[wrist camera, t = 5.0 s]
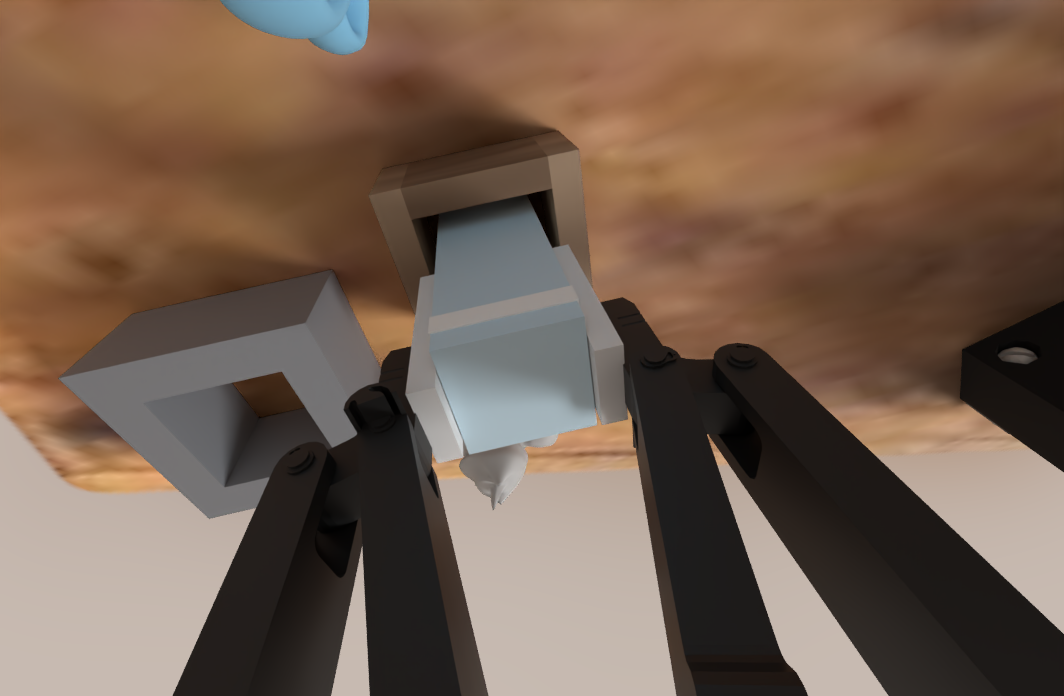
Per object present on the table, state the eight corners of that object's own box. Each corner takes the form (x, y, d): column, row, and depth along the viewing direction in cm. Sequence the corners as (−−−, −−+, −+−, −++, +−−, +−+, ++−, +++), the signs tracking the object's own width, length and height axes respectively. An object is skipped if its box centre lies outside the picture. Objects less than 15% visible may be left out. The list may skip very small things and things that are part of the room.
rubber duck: (441, 372, 26) (438, 480, 20) (550, 363, 27) (580, 465, 21) (450, 435, 30) (449, 547, 23) (547, 425, 30) (572, 531, 24)
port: (131, 314, 22) (52, 383, 17) (332, 269, 22) (303, 326, 17) (244, 447, 27) (206, 523, 23) (401, 411, 28) (392, 480, 23)
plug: (438, 202, 21) (426, 350, 11) (523, 184, 21) (586, 314, 11) (461, 279, 23) (468, 456, 13) (537, 262, 23) (598, 425, 14)
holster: (382, 168, 19) (368, 195, 16) (558, 130, 20) (579, 149, 16) (435, 318, 24) (433, 362, 21) (577, 286, 24) (596, 325, 21)
